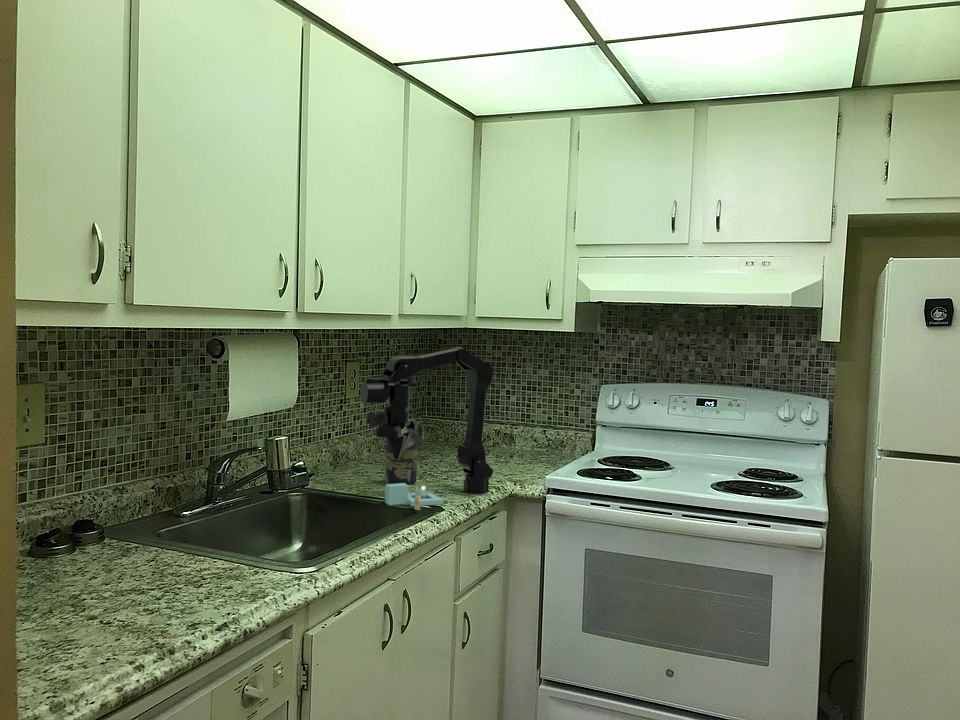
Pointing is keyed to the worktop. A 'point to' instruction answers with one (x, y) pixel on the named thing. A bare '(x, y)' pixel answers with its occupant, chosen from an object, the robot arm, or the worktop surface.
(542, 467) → the worktop surface
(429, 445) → the worktop surface
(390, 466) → the canister
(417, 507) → the dowel
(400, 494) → the flange
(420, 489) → the post
